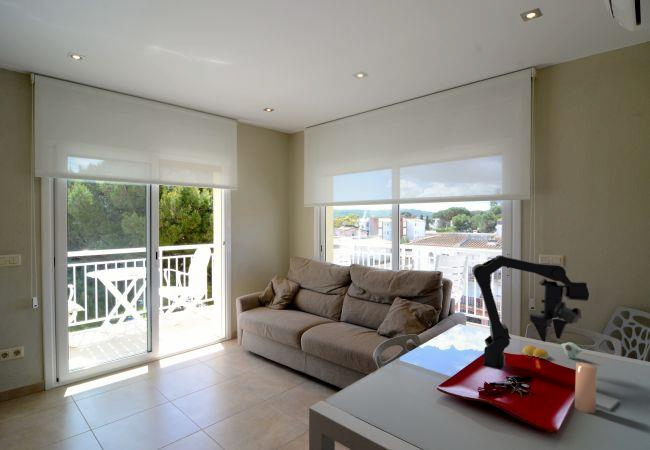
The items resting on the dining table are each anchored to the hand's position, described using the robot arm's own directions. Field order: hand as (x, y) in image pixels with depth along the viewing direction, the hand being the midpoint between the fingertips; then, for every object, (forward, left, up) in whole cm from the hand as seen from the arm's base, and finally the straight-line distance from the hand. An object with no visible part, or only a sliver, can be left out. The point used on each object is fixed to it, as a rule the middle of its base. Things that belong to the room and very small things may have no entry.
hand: (551, 339), depth 131 cm
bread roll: (-6, +16, -13) cm, 21 cm away
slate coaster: (+13, -16, -12) cm, 24 cm away
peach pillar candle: (+10, -24, -12) cm, 29 cm away
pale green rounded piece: (+6, +22, -12) cm, 26 cm away
